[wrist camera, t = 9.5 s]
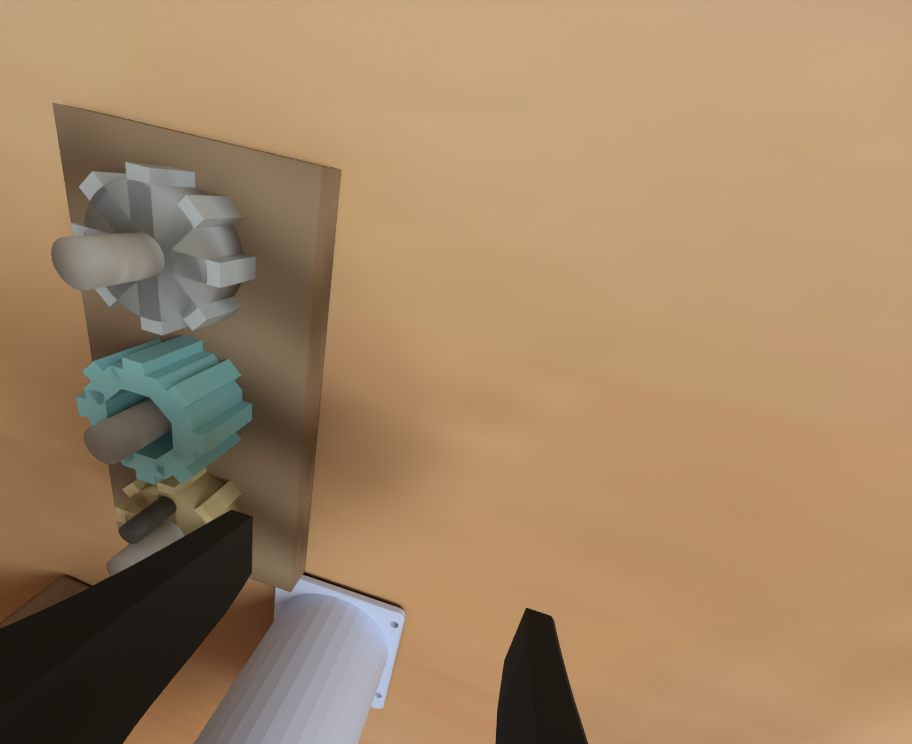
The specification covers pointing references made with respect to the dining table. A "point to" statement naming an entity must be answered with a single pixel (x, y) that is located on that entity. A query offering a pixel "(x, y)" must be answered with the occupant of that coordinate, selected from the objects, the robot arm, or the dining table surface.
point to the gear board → (254, 333)
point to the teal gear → (170, 403)
